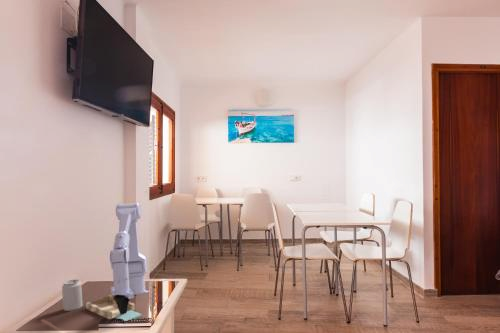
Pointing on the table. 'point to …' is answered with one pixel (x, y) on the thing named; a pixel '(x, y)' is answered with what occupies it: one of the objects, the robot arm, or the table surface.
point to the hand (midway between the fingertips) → (123, 313)
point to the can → (72, 295)
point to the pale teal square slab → (128, 315)
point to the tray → (106, 307)
